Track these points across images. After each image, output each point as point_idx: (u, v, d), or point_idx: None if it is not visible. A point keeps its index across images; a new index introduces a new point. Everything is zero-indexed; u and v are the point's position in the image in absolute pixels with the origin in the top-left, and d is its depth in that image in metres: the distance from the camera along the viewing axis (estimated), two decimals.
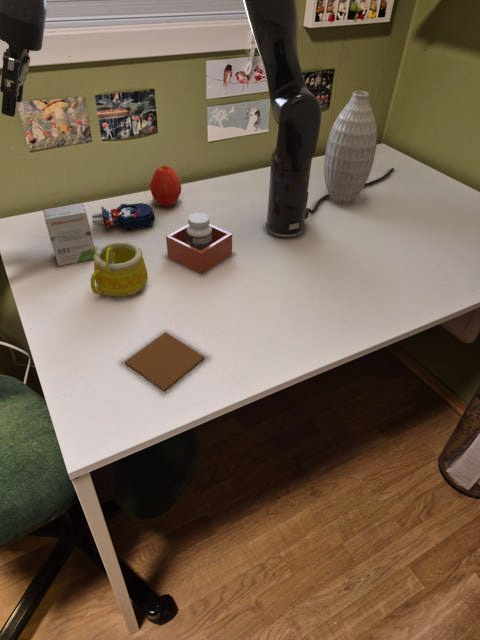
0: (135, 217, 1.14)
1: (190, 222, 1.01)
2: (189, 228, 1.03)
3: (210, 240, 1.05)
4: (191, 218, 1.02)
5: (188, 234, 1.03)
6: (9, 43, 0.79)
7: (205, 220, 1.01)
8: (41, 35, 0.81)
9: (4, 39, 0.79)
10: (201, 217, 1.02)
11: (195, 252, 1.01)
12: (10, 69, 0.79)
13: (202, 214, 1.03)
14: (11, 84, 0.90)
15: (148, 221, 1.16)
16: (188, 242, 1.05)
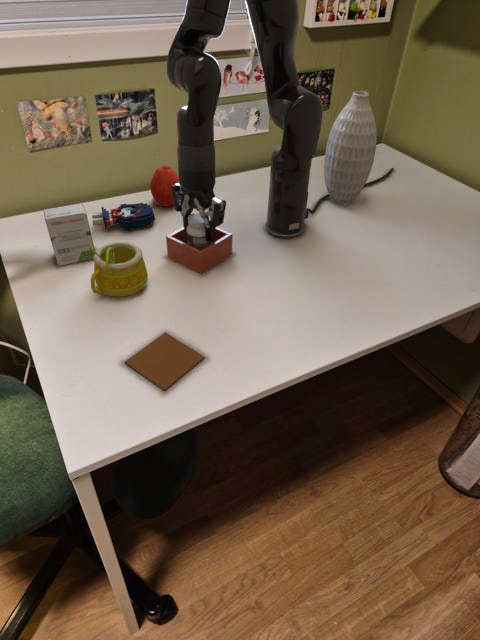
0: (135, 217, 1.14)
1: (190, 222, 1.01)
2: (189, 228, 1.03)
3: None
4: (191, 218, 1.02)
5: (188, 234, 1.03)
6: (207, 189, 0.95)
7: None
8: None
9: (203, 189, 0.94)
10: None
11: (195, 252, 1.01)
12: (221, 210, 0.97)
13: None
14: (186, 221, 1.04)
15: (148, 221, 1.16)
16: (188, 242, 1.05)
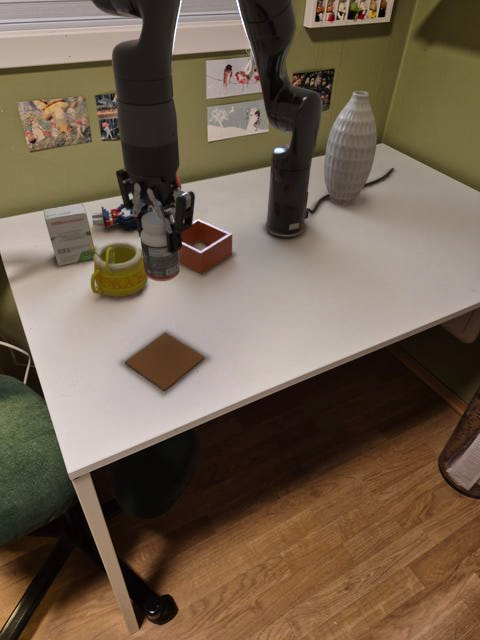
0: (135, 217, 1.14)
1: (144, 225, 0.69)
2: (143, 234, 0.70)
3: None
4: (146, 219, 0.69)
5: (143, 242, 0.70)
6: (165, 176, 0.62)
7: None
8: None
9: (158, 174, 0.62)
10: None
11: (195, 252, 1.01)
12: (187, 207, 0.64)
13: None
14: (141, 223, 0.71)
15: None
16: (143, 254, 0.72)
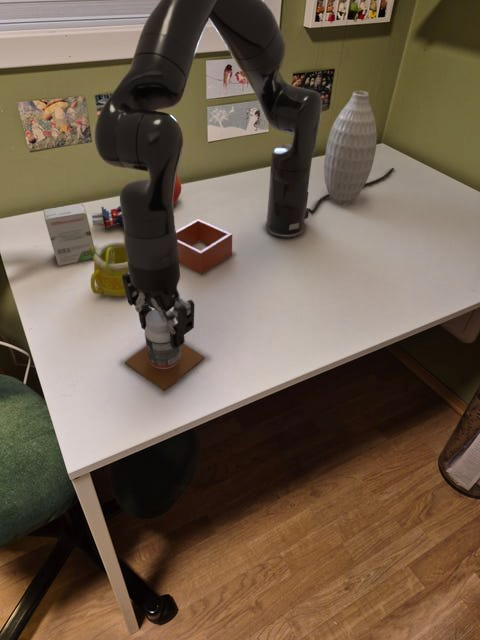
0: None
1: (148, 324, 0.75)
2: (148, 330, 0.77)
3: None
4: (150, 318, 0.76)
5: (147, 338, 0.77)
6: (168, 290, 0.69)
7: None
8: None
9: (161, 289, 0.68)
10: None
11: (195, 252, 1.01)
12: (188, 314, 0.70)
13: None
14: (143, 317, 0.78)
15: None
16: (147, 346, 0.79)
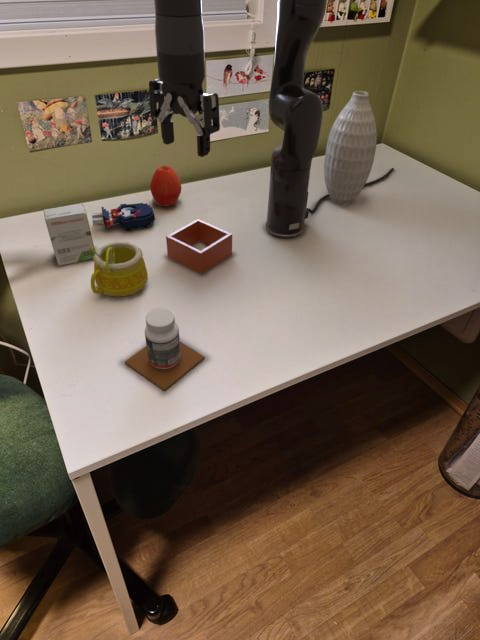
0: (135, 217, 1.14)
1: (148, 324, 0.75)
2: (148, 330, 0.77)
3: (176, 344, 0.79)
4: (150, 318, 0.76)
5: (147, 338, 0.77)
6: (194, 83, 0.74)
7: (168, 321, 0.76)
8: None
9: (188, 81, 0.74)
10: (164, 316, 0.77)
11: (195, 252, 1.01)
12: (213, 106, 0.75)
13: (165, 311, 0.77)
14: (165, 128, 0.83)
15: (148, 221, 1.16)
16: (147, 346, 0.79)
